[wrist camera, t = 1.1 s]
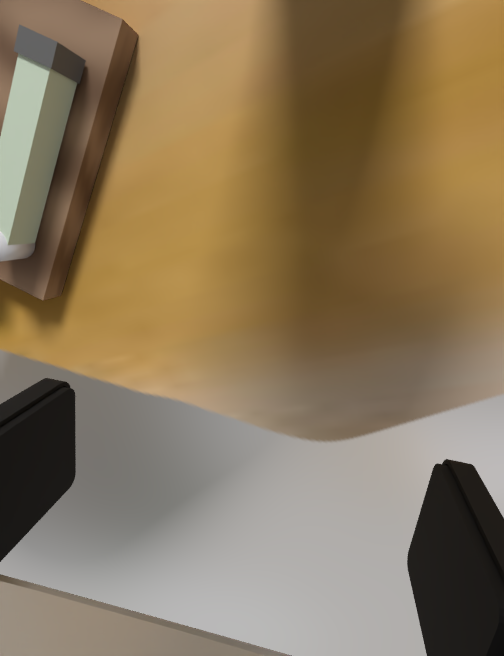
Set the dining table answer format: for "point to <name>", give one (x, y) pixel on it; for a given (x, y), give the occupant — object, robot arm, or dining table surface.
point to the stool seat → (67, 125)
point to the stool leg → (33, 136)
